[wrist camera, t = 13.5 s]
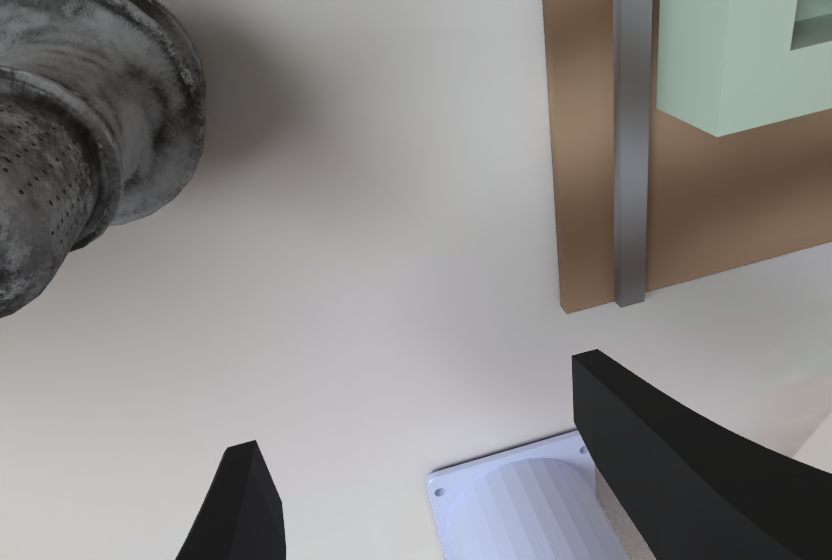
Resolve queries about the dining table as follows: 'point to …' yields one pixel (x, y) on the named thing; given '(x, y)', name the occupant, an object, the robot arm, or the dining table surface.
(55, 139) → the salt shaker
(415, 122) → the dining table surface
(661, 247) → the walnut board
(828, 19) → the sage socket block
